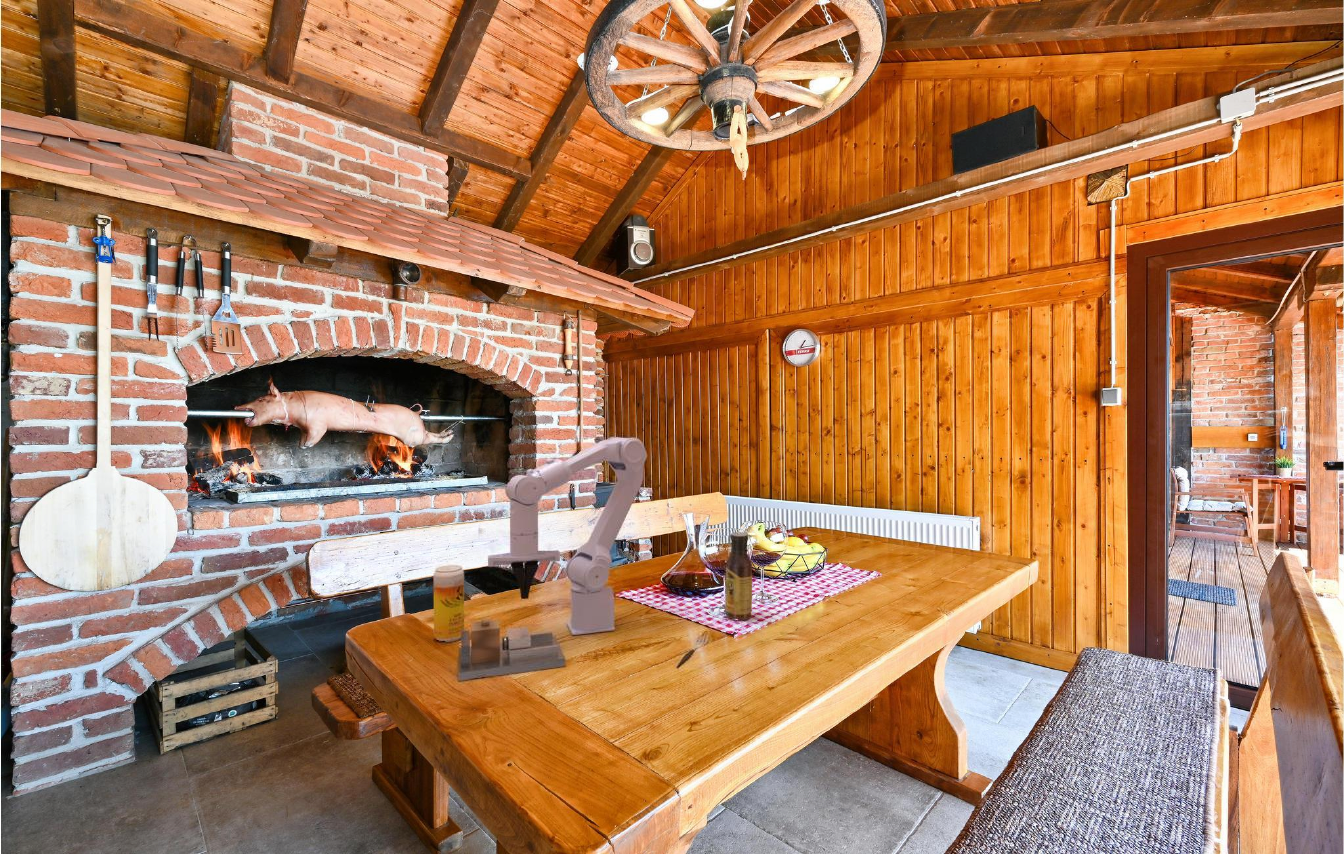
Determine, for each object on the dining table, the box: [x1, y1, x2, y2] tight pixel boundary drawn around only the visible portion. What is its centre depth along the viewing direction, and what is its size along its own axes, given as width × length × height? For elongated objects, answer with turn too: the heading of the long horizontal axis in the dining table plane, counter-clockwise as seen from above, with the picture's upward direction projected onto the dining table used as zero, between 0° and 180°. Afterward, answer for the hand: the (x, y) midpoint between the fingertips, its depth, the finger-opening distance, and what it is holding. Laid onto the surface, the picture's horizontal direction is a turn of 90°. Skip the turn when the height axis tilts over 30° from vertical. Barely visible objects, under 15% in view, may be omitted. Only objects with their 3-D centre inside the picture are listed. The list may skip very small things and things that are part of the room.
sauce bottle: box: [724, 531, 753, 621], centre depth 140 cm, size 7×6×20 cm
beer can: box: [433, 564, 465, 643], centre depth 127 cm, size 6×6×15 cm
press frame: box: [457, 630, 566, 682], centre depth 115 cm, size 19×12×6 cm, turn 109°
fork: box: [675, 630, 710, 669], centre depth 119 cm, size 3×16×2 cm, turn 158°
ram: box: [501, 626, 531, 655], centre depth 115 cm, size 5×6×4 cm
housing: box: [470, 617, 501, 663], centre depth 114 cm, size 5×5×7 cm
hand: (524, 597), depth 125 cm, fingers closed
